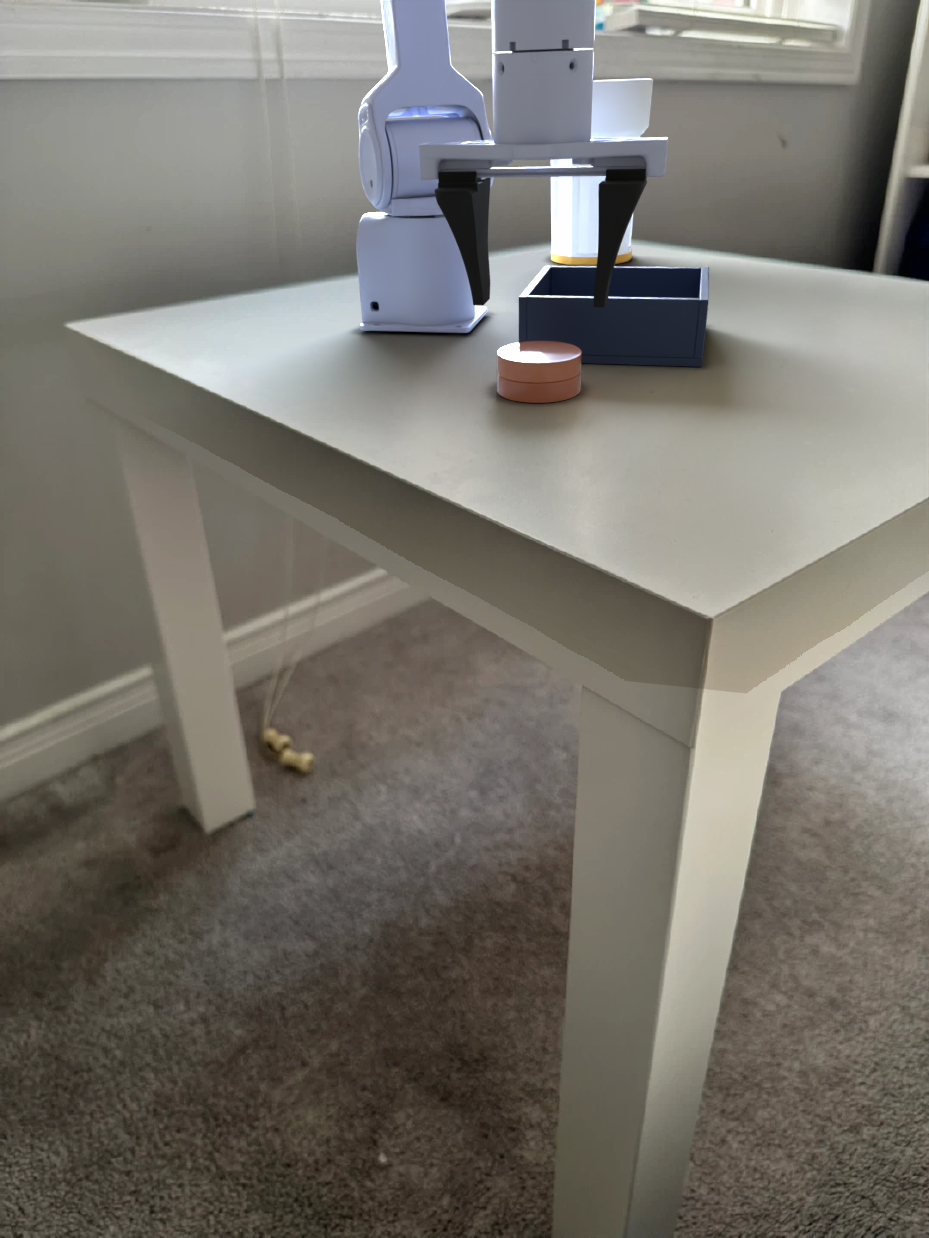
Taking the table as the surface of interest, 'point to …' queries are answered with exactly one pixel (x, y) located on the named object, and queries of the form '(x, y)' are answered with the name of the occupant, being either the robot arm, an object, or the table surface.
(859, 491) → the table surface
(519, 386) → the orange round tin
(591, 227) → the cup
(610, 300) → the tub
